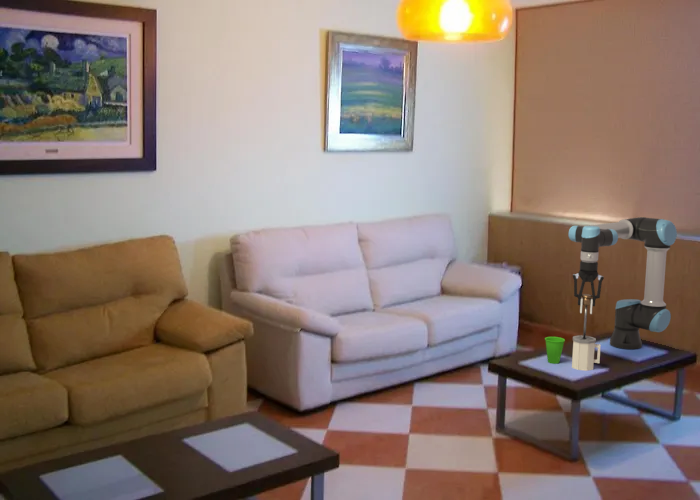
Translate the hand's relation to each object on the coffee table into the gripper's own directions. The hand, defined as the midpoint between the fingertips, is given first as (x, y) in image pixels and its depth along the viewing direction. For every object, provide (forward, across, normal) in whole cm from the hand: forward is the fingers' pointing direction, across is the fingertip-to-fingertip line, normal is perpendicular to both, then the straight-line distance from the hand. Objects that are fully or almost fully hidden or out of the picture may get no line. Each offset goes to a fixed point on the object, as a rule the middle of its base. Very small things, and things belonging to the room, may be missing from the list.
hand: (585, 312), depth 364 cm
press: (+25, +1, 0) cm, 25 cm away
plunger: (+14, 0, 0) cm, 14 cm away
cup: (+25, -13, +4) cm, 29 cm away
